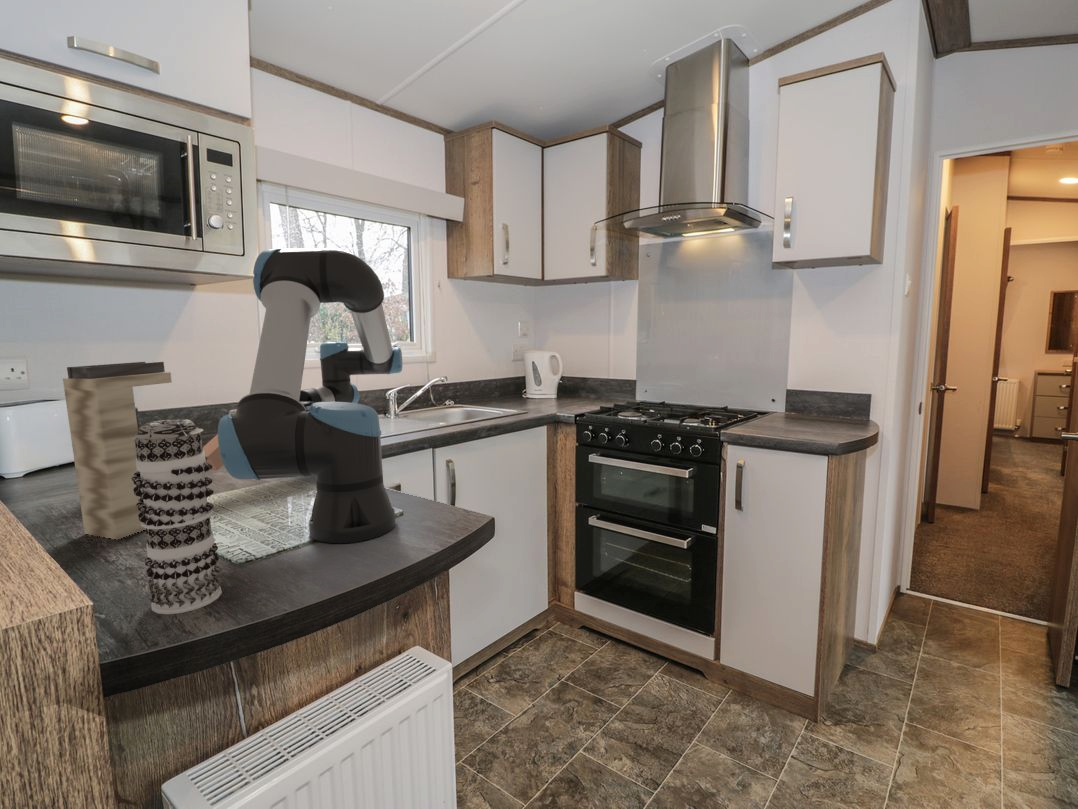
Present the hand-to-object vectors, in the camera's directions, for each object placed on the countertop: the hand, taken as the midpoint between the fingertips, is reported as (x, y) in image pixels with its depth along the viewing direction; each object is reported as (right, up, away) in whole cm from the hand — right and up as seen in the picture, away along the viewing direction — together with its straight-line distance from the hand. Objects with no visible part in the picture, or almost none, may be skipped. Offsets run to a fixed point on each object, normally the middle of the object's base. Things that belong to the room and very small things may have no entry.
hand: (238, 417), depth 131 cm
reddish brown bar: (0, -5, +1) cm, 5 cm away
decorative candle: (+20, -24, -52) cm, 61 cm away
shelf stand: (-9, -20, -21) cm, 30 cm away
